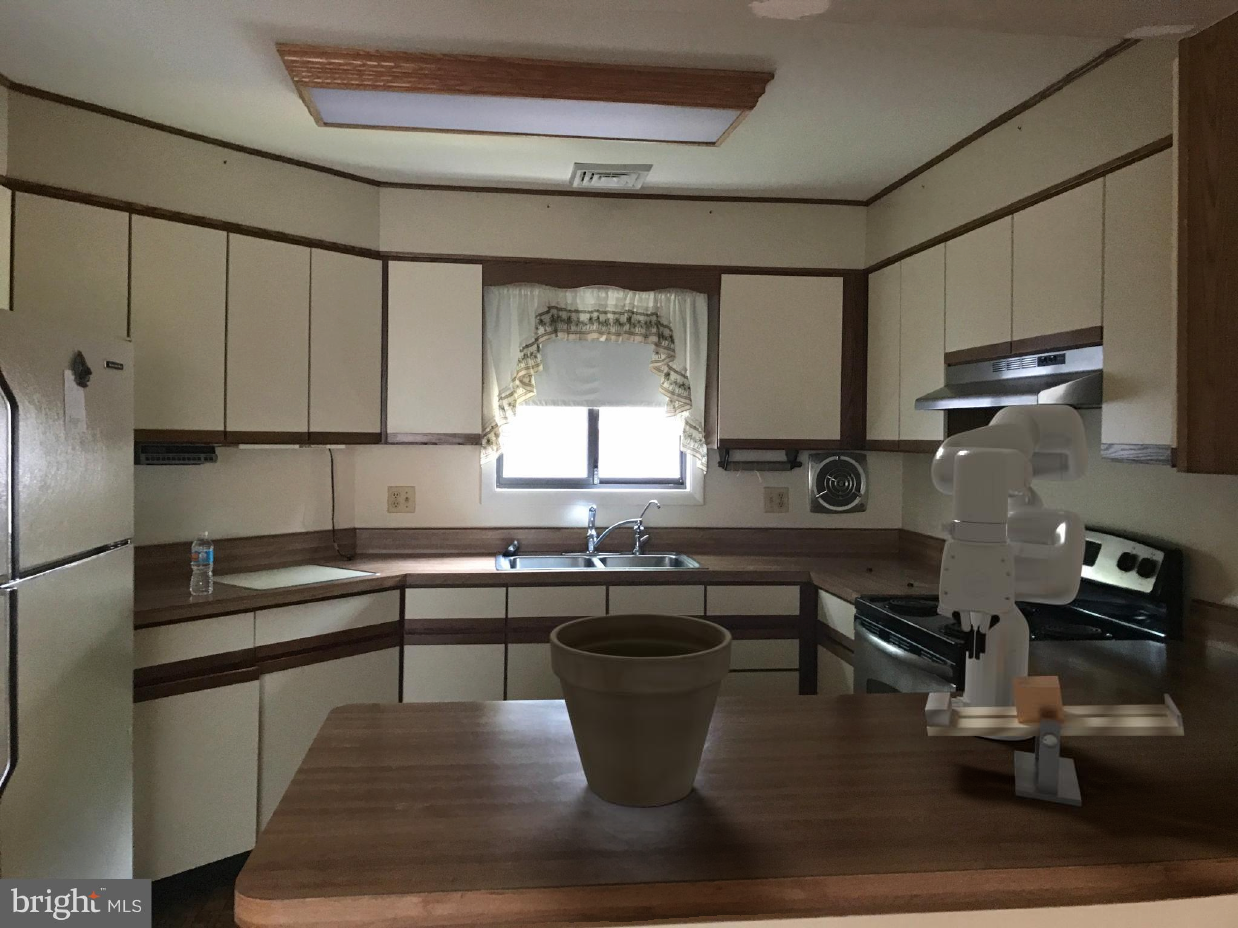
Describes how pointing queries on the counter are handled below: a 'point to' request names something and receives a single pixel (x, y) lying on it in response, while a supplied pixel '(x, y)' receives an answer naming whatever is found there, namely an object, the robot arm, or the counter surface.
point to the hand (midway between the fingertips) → (974, 657)
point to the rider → (1038, 699)
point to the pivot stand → (1047, 769)
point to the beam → (1077, 723)
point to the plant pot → (640, 700)
